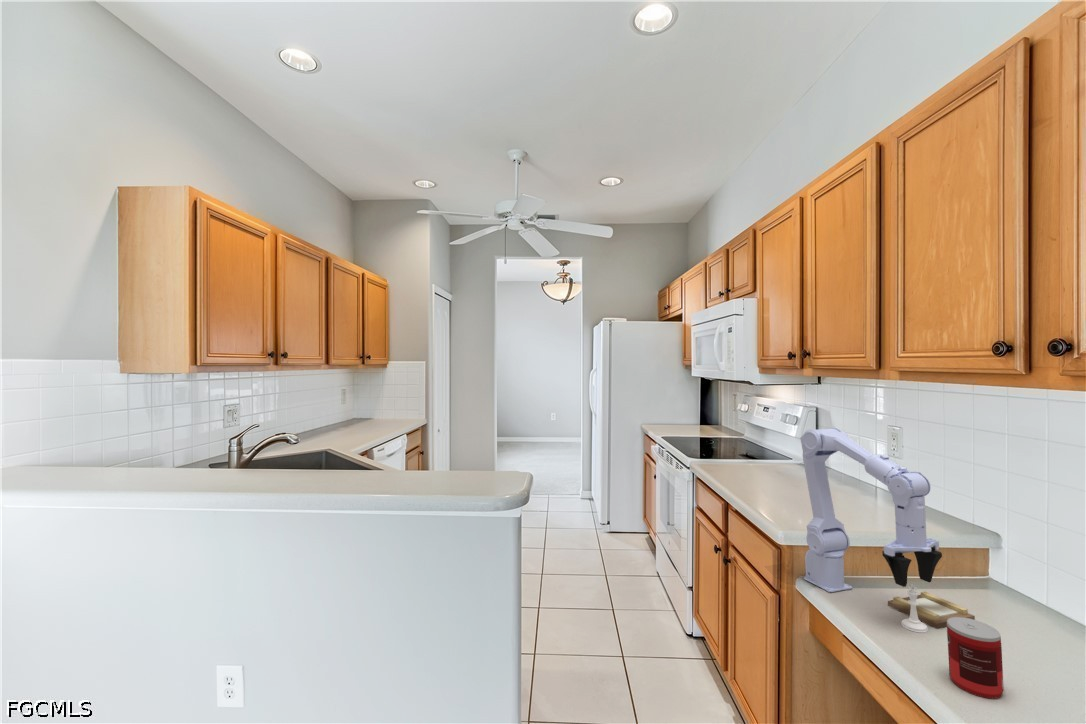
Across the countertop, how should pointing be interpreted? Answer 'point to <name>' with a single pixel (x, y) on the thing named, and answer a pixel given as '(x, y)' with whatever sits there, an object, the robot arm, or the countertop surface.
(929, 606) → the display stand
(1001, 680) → the canned food
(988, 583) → the countertop surface
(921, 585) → the countertop surface
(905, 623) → the chess piece
